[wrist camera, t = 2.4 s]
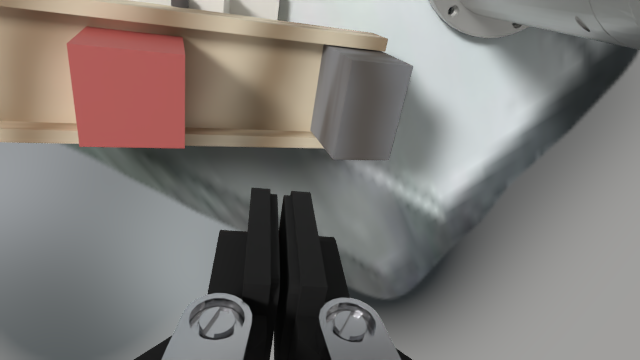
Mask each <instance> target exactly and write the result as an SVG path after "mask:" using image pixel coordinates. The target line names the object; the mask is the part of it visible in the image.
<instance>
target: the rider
mask: <svg viewBox="0 0 640 360" xmlns="http://www.w3.org/2000/svg"><path fill="white" fill-rule="evenodd" d="M66 44H67V52H68V60H69V67H70V75H71V83H72V91H73V99H74V107H75V115H76V123H77V131H78V139H79V147H131V148H185V50H184V43H183V37H179V36H170V35H161V34H152V33H143V32H134V31H125V30H115V29H106V28H97V27H88V26H86V27H85V28H84V29H83V30H81V31H80V32H79V33H78V34H77V35H76V36H75V37H73V38H72V39H71V40H70V41H69V42H68V43H66Z"/></svg>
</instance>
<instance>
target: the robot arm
mask: <svg viewBox="0 0 640 360" xmlns="http://www.w3.org/2000/svg"><path fill="white" fill-rule="evenodd" d="M429 1H430V4H431V5H432V7H433V8H434V10H435V11H436V12H437V14H438V15H439V17H440V18H442V19H443V20H444V21H445V22H446V23H447V24H448V25H449V26H451V27H453V28H454V29H456V30H458V31H460V32H462V33H465V34H468V35H471V36H475V37H481V38H500V37H504V36H508V35H512V34H515V33H517V32H520V31H522V30H524V29H526V28H528V27H530V26H531V27H536V28H540V29H545V30H550V31H554V32H559V33H564V34H568V35H573V36H578V37H582V38H587V39H592V40H596V41H601V42H606V43H610V44H615V45H620V46H624V47H629V48H634V49H638V50H640V0H429ZM450 7H451V8H452V11H451V13H450V14H448V10H449V8H450ZM512 23H513V24H512ZM273 333H274V360H412V359H411V358H409V357H408V356H406V355H404V354H403V353H402V352H400V351H399V350H397V349H396V348H395V346H394V344H393V342H392V340H391V338H390V336H389V334H388V332H387V330H386V328H385V326H384V324H383V322H382V320H381V318H380V317H379V315H378V314H377V312H376V311H375V310H374V309H372V308H371V307H370V306H369V305H367V304H365V303H363V302H361V301H359V300H356V299H352V298H350V297H349V293H348V289H347V285H346V281H345V276H344V272H343V268H342V264H341V260H340V256H339V252H338V248H337V244H336V240H335V238H334V237H322V236H318V231H317V226H316V220H315V215H314V210H313V204H312V199H311V194H310V192H298V191H291V195H290V196H288V195H284V197H283V204H282V212H281V219H280V227H279V230H278V201H277V195H276V194H270V189H262V188H252V189H251V200H250V211H249V222H248V232H243V231H228V230H220V232H219V237H218V242H217V248H216V253H215V259H214V263H213V269H212V274H211V279H210V284H209V290H208V295H204V296H202V297H200V298H198V299H195V300H194V301H193V302H192V303H190V304H189V305H188V306H187V308H186V309H185V310H184V312H183V313H182V316H181V318H180V320H179V322H178V324H177V327H176V329H175V331H174V333H173V335H172V336H171V337H169V338H168V339H166V340H164V341H163V342H161V343H160V344H158V345H156V346H155V347H153V348H152V349H150V350H148V351H147V352H145V353H144V354H142V355H141V356H139V357H137V358H136V359H134V360H270V352H271V346H272V340H273Z"/></svg>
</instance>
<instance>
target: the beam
mask: <svg viewBox="0 0 640 360" xmlns="http://www.w3.org/2000/svg"><path fill="white" fill-rule="evenodd" d="M86 26H88V27H97V28H106V29H115V30H125V31H134V32H143V33H152V34H161V35H170V36H179V37H183V43H184V50H185V146H227V147H278V148H324V149H325V150H326V151H327V152H328V154H329V155H330V156H331V157H332V159H333V160H389V157H390V153H391V150H392V146H393V142H394V138H395V134H396V130H397V127H398V123H399V119H400V115H401V111H402V107H403V104H404V100H405V96H406V92H407V88H408V84H409V81H410V77H411V73H412V69H413V66H412V65H409V64H407V63H405V62H403V61H401V60H399V59H397V58H394V57H392V56H390V55H388V54H386V53H384V52H382V51H385V50H386V45H387V41H388V39H386V38H384V37H381V36H379V35H376V34H374V33H368V32H361V31H354V30H346V29H339V28H331V27H324V26H316V25H309V24H302V23H294V22H287V21H279V20H272V19H264V18H257V17H250V16H242V15H235V14H227V13H220V12H212V11H205V10H198V9H190V8H189V0H171V6H168V5H161V4H153V3H146V2H138V1H131V0H0V142H19V143H24V142H25V143H71V144H79V139H78V131H77V123H76V115H75V107H74V99H73V91H72V83H71V75H70V67H69V60H68V52H67V44H66V43H68V42H69V41H70V40H71V39H72V38H73V37H75V36H76V35H77V34H78V33H79V32H80V31H81V30H83V29H84V28H85V27H86Z"/></svg>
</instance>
